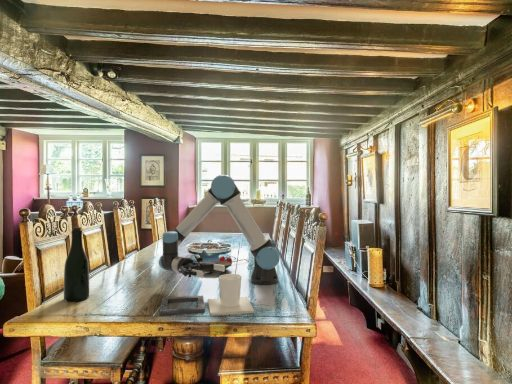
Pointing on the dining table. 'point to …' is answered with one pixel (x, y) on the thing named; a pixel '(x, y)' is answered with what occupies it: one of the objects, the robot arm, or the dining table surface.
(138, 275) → the dining table surface
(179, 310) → the dark grey square frame
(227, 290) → the candle holder
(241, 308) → the cream tile
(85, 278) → the dark wine bottle
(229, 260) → the glasses
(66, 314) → the dining table surface
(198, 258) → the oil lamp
